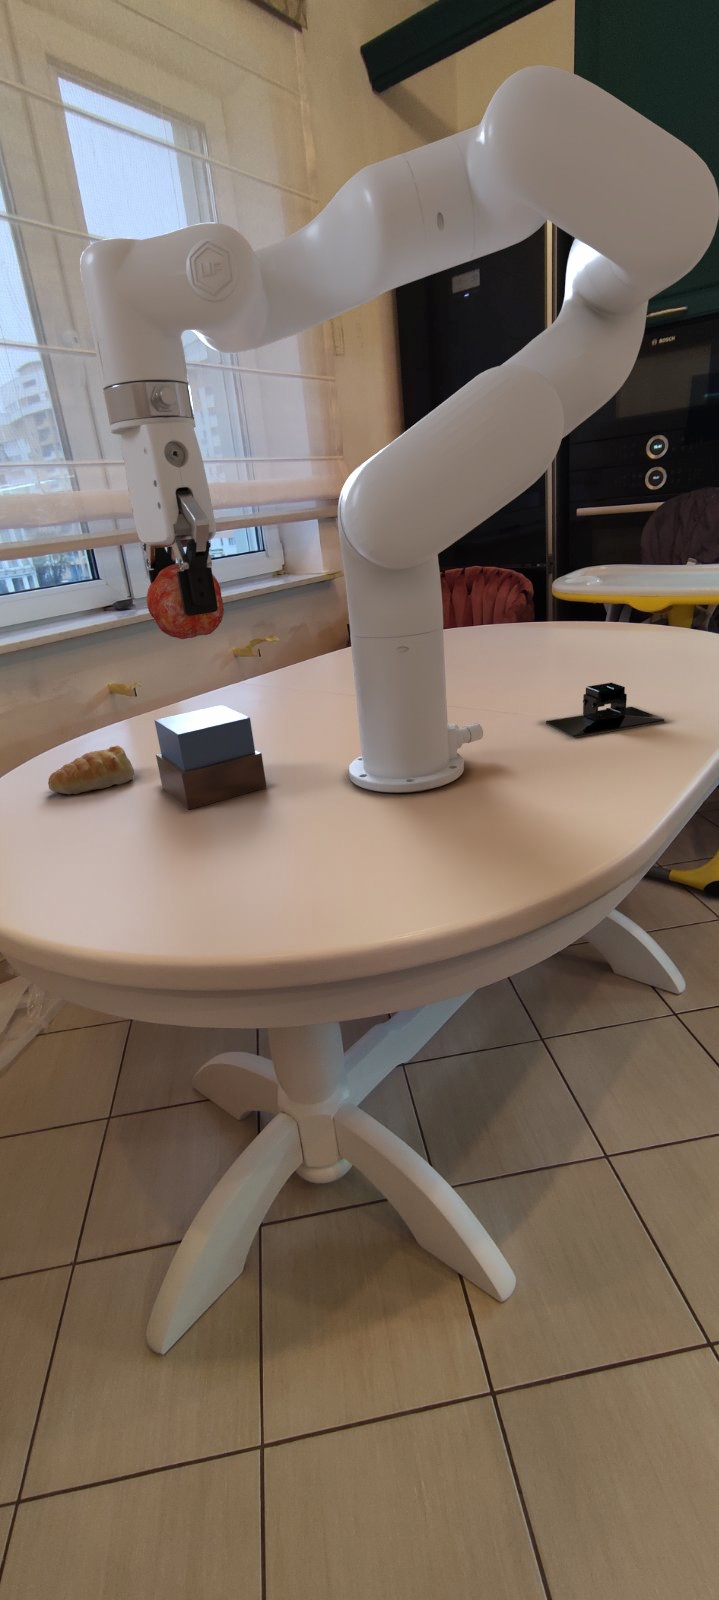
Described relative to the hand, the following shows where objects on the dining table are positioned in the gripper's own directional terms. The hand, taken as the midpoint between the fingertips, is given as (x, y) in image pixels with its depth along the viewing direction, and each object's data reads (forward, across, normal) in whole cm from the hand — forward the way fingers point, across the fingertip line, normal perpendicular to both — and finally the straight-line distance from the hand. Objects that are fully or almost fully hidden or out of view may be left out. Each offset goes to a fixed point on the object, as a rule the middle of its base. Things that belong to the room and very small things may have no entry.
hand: (185, 609), depth 72 cm
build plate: (+20, -13, -46) cm, 52 cm away
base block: (+20, +2, 0) cm, 20 cm away
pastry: (+20, +14, +9) cm, 26 cm away
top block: (+16, +2, 0) cm, 16 cm away
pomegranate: (+3, 0, 0) cm, 3 cm away
